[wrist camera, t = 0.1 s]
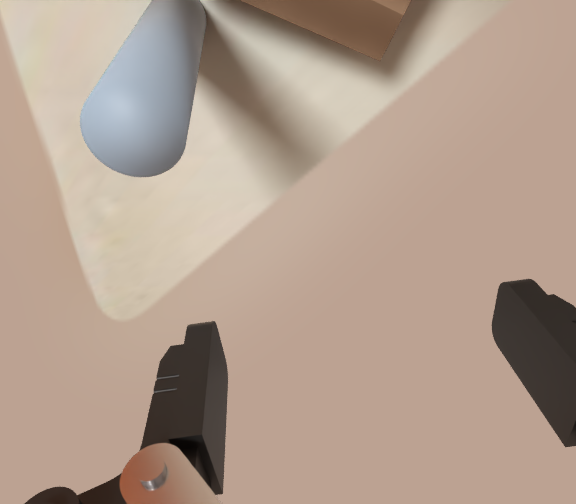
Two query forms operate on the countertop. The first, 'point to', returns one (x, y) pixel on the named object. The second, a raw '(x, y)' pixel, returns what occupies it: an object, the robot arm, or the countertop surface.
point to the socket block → (343, 20)
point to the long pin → (148, 92)
